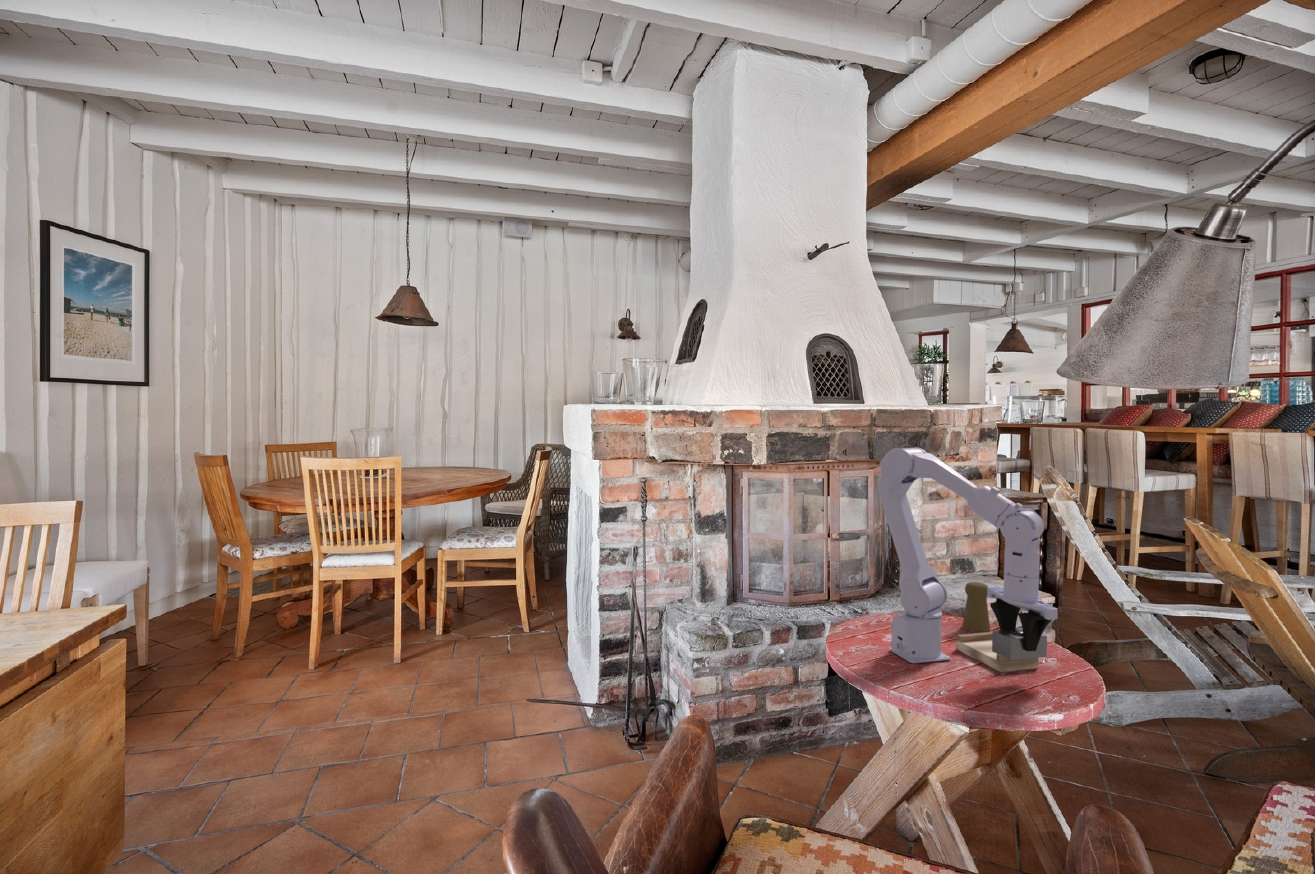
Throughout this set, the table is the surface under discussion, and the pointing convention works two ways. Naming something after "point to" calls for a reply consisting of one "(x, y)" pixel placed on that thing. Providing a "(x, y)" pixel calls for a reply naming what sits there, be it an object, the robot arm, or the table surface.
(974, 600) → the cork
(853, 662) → the table surface
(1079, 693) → the table surface
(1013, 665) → the stand
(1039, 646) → the housing
